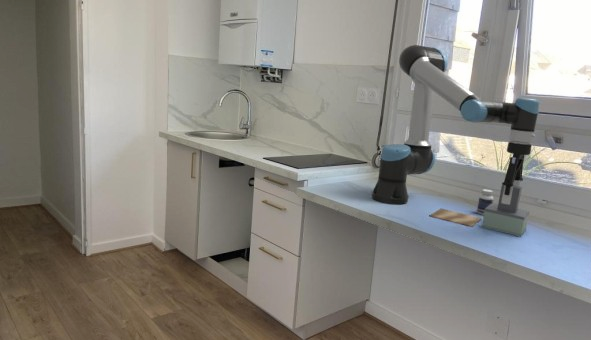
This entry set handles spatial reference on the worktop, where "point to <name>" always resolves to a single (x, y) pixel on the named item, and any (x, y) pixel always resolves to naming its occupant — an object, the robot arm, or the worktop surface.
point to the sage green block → (504, 223)
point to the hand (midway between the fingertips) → (509, 200)
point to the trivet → (456, 217)
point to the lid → (509, 209)
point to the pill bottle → (484, 201)
